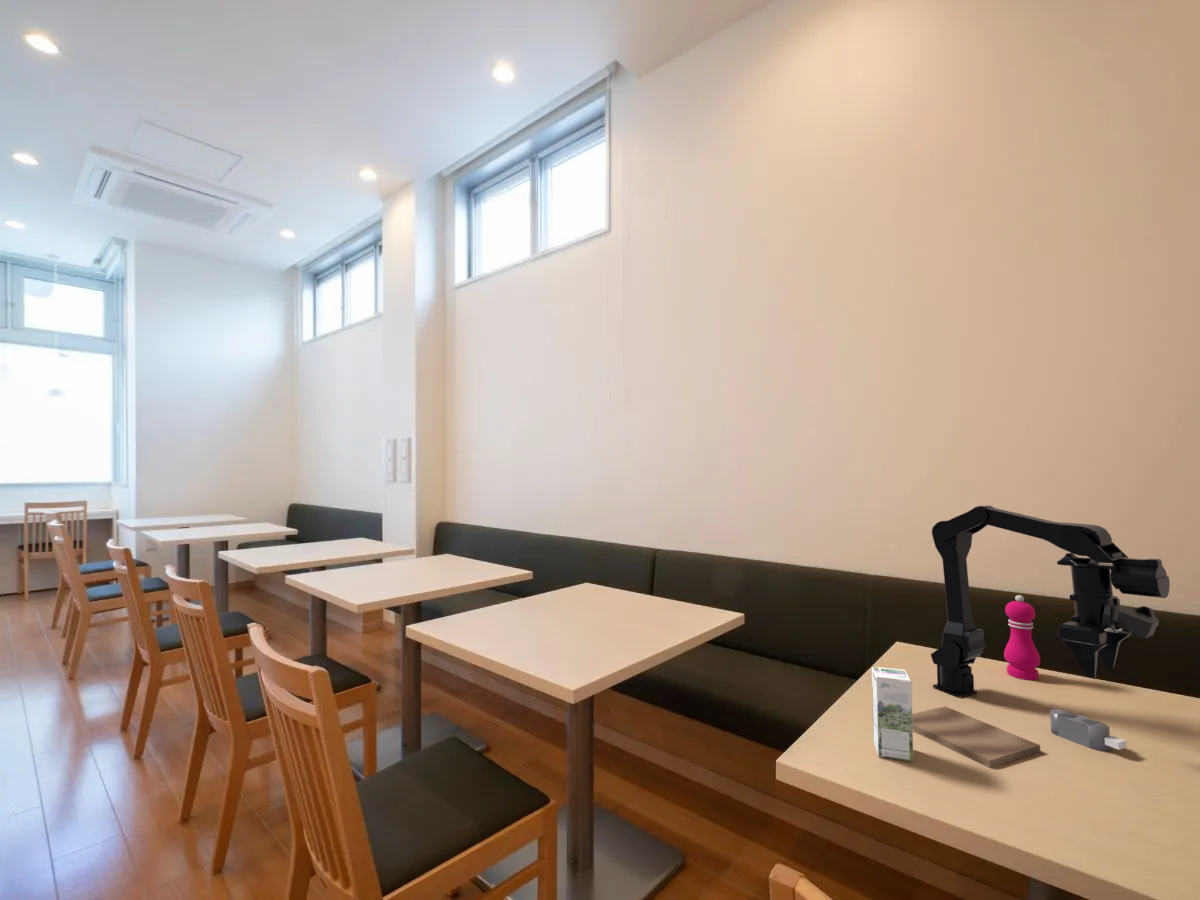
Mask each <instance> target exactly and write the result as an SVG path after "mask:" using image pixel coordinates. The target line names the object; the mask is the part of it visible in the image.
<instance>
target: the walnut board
mask: <svg viewBox="0 0 1200 900" xmlns="http://www.w3.org/2000/svg"><path fill="white" fill-rule="evenodd" d="M912 727H913V730H914V731H913V732H915V731H916V732H915V733H917V732H918V733H917V734H919V733H920V734H919V735H921V734H922V735H921V736H923V735H924V736H923V737H925V736H926V737H925V738H927V737H928V738H927V739H929V740H931V739H932V740H931V741H933V740H934V742H935V741H936V743H937V742H938V744H939V745H942V746H943V747H946V748H948V749H950V750H952V751H954V752H957V753H958V754H961V755H963V757H964V756H965V757H966V758H969V759H971V760H973V761H974V762H977V763H979V764H981V765H984V766H986V767H988V768H994V767H997V766H999V765H1003V764H1006V763H1010V762H1012V761H1015V760H1016V761H1017V760H1019V759H1022V758H1025V757H1029V756H1031V755H1035V754H1038V753H1041V745H1040V744H1039V743H1035V742H1033V741H1031V740H1028V739H1026V738H1023V737H1021V736H1019V735H1016V734H1013V733H1011V732H1008V731H1006V730H1004V729H1001V728H999V727H997V726H994V725H992V724H989V723H987V722H984V721H982V720H979V719H977V718H975V717H972V716H970V715H967V714H965V713H963V712H960V711H958V710H955V709H953V708H951V707H948V706H941V707H936V708H931V709H927V710H922V711H919V712H914V713H912Z"/></svg>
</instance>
